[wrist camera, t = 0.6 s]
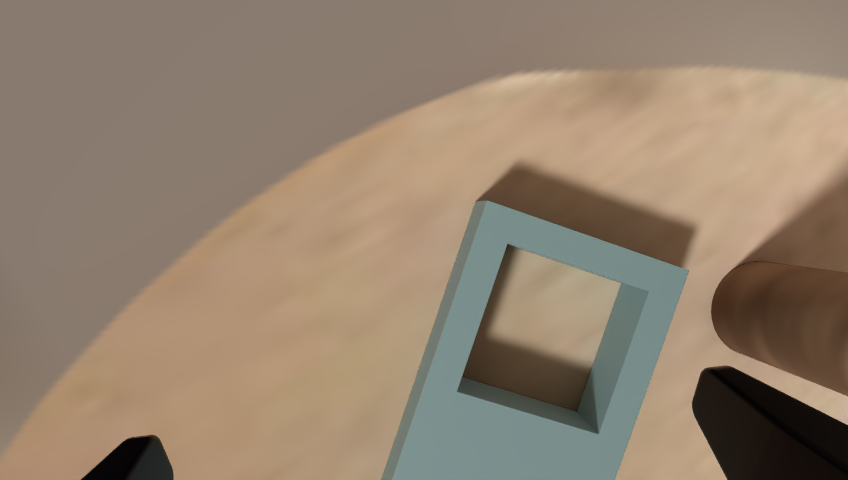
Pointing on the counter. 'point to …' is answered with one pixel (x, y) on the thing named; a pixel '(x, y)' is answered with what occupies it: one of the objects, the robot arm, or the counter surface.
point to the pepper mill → (787, 319)
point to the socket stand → (517, 414)
